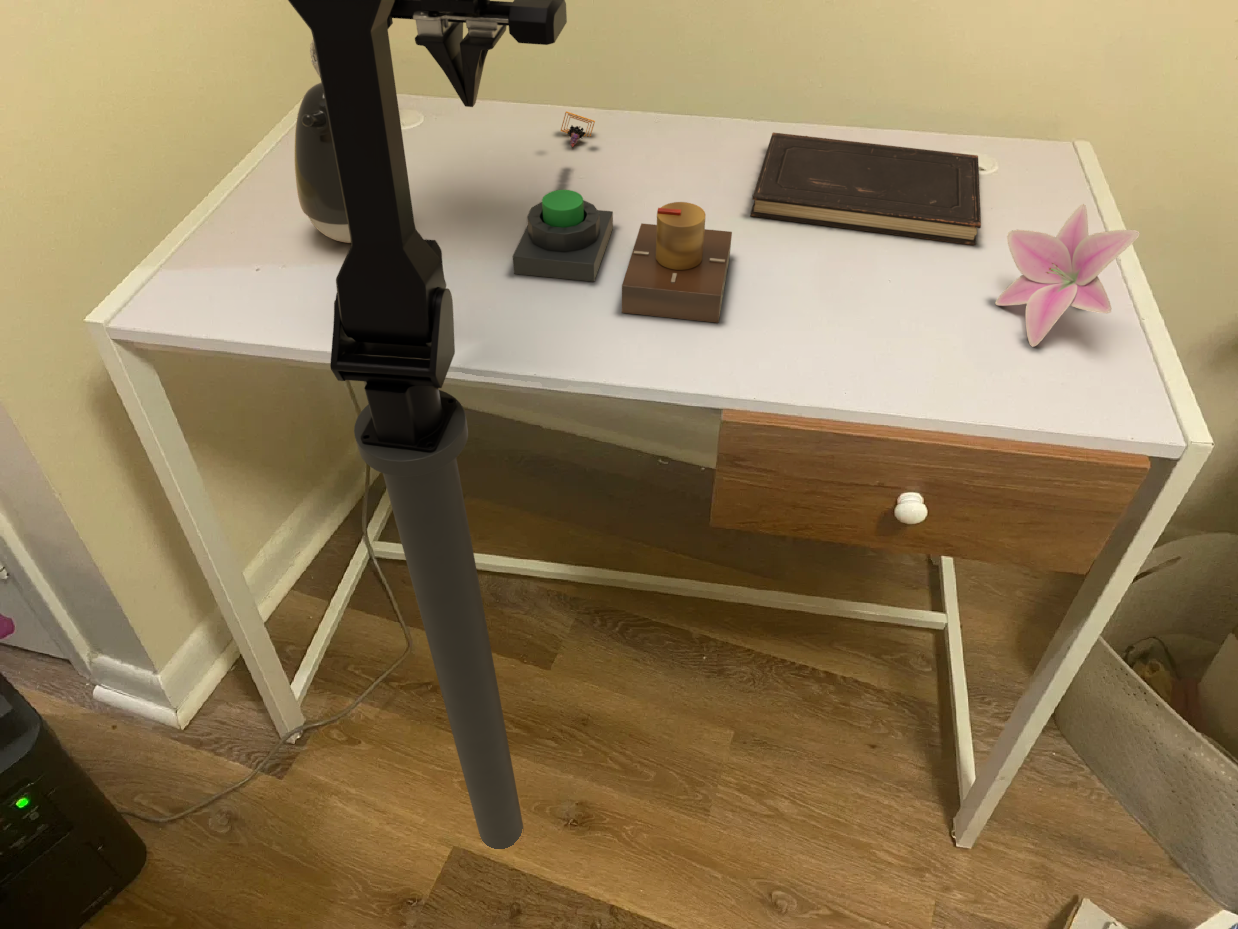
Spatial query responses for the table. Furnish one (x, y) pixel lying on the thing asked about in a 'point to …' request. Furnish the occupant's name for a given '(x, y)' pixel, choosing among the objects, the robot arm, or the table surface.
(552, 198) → the button
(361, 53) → the robot arm
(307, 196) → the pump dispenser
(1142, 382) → the table surface
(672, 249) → the dial
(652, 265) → the panel
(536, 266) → the button base
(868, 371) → the table surface
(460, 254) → the table surface
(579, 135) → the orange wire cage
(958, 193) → the hardcover book
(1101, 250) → the lily
